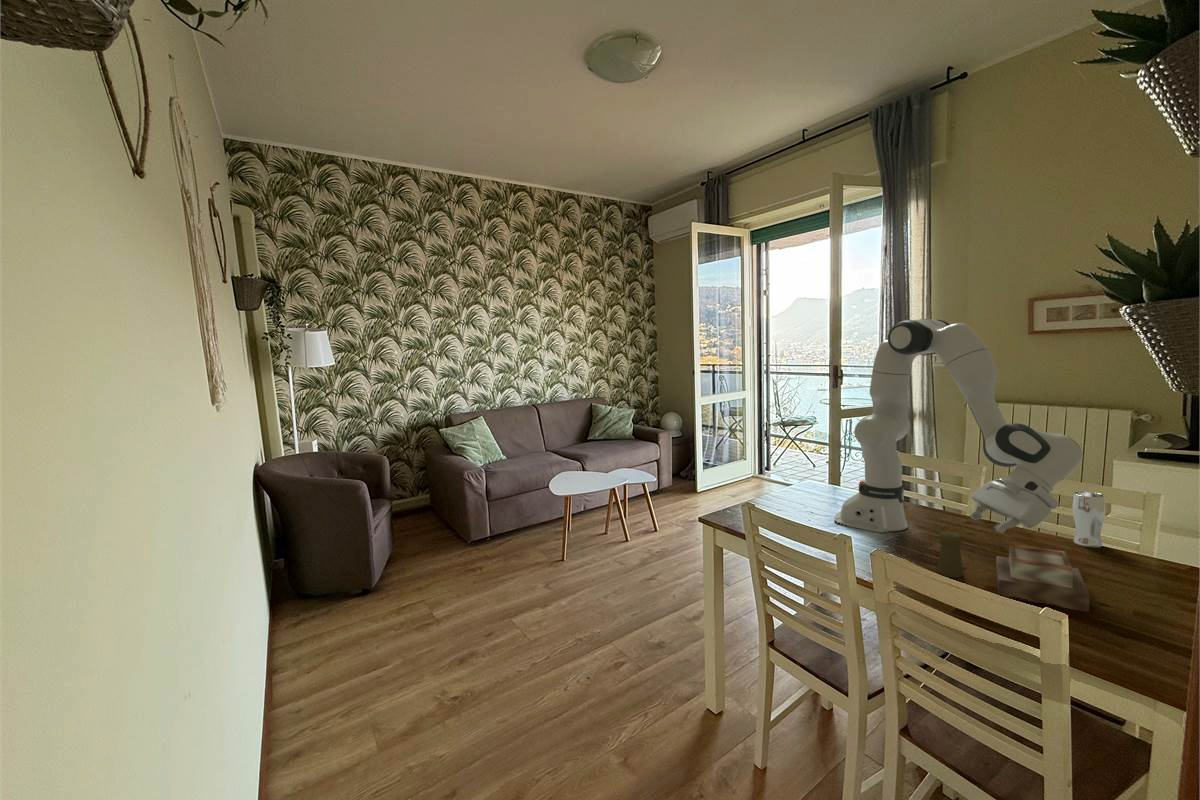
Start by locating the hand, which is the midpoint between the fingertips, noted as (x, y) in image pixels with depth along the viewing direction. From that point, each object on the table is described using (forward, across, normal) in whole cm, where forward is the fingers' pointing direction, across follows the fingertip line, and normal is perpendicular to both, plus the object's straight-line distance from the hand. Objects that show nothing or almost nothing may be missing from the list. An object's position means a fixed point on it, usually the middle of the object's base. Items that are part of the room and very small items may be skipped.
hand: (984, 524), depth 134 cm
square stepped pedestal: (+5, +10, +13) cm, 18 cm away
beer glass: (-19, -17, +37) cm, 45 cm away
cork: (+16, 0, +3) cm, 16 cm away
